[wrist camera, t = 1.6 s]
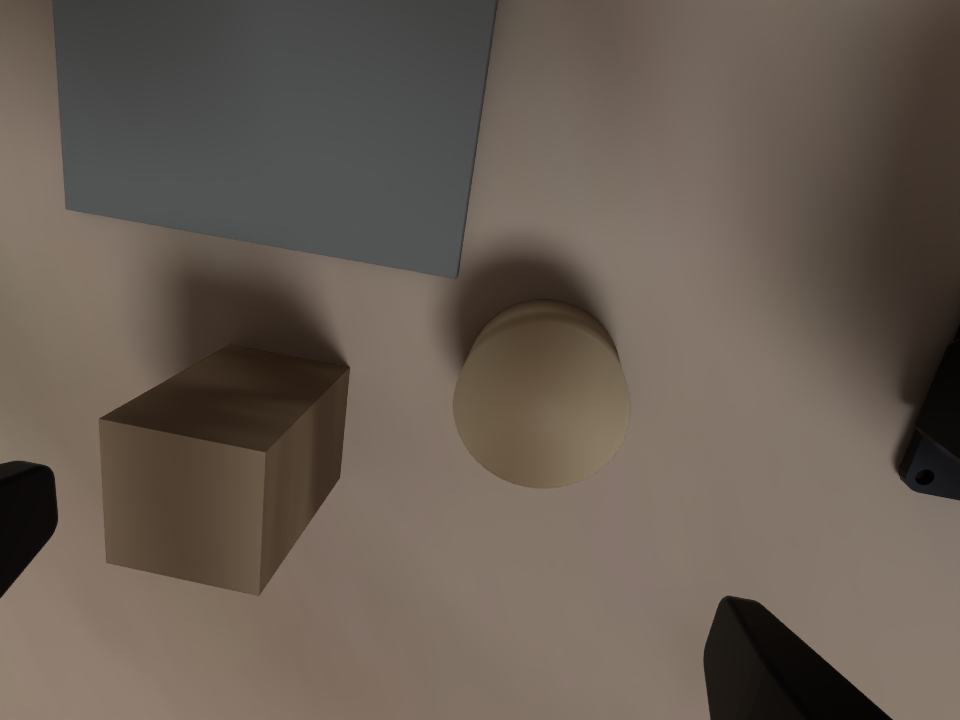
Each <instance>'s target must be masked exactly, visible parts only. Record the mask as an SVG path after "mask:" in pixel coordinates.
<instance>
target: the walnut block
mask: <svg viewBox="0 0 960 720" xmlns="http://www.w3.org/2000/svg"><path fill="white" fill-rule="evenodd" d="M349 373H350V368H349V367H344V366H339V365H334V364H328V363H323V362H318V361H313V360H307V359H302V358H297V357H292V356H286V355H281V354H276V353H271V352H265V351H260V350H255V349H250V348H244V347H239V346H234V345H228V346H226V347H224V348H223V349H221V350H219V351H217V352H216V353H214V354H212V355H210V356H209V357H207V358H205V359H203V360H201V361H200V362H198V363H196V364H194V365H193V366H191V367H189V368H187V369H186V370H184V371H182V372H180V373H179V374H177V375H175V376H173V377H172V378H170V379H168V380H166V381H165V382H163V383H161V384H159V385H158V386H156V387H154V388H152V389H150V390H149V391H147V392H145V393H143V394H142V395H140V396H138V397H136V398H135V399H133V400H131V401H129V402H128V403H126V404H124V405H122V406H121V407H119V408H117V409H115V410H114V411H112V412H110V413H108V414H107V415H105V416H103V417H101V418H99V431H100V450H101V470H102V489H103V509H104V528H105V547H106V563H109V564H114V565H119V566H123V567H128V568H132V569H137V570H142V571H146V572H151V573H155V574H160V575H165V576H169V577H174V578H178V579H183V580H188V581H192V582H197V583H201V584H206V585H211V586H215V587H220V588H224V589H229V590H234V591H238V592H243V593H247V594H252V595H257V596H259V595H260V594H261V592H262V591H263V589H264V588H265V587H266V585H267V584H268V582H269V581H270V579H271V578H272V576H273V575H274V573H275V572H276V570H277V569H278V568H279V566H280V565H281V563H282V562H283V560H284V559H285V557H286V556H287V554H288V553H289V551H290V550H291V549H292V547H293V546H294V544H295V543H296V541H297V540H298V538H299V537H300V535H301V534H302V532H303V531H304V530H305V528H306V527H307V525H308V524H309V522H310V521H311V519H312V518H313V516H314V515H315V514H316V512H317V511H318V509H319V508H320V506H321V505H322V503H323V502H324V500H325V499H326V497H327V496H328V495H329V493H330V492H331V490H332V489H333V487H334V486H335V484H336V483H337V481H338V480H339V478H340V472H341V461H342V450H343V439H344V428H345V417H346V406H347V395H348V384H349Z"/></svg>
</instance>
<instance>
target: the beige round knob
mask: <svg viewBox="0 0 960 720" xmlns="http://www.w3.org/2000/svg"><path fill="white" fill-rule="evenodd" d="M630 407H631V405H630V396H629V391H628V387H627V383H626V380H625V377H624V373H623V370H622V366H621V363H620V360H619V356H618V353H617V350H616V347H615V345H614V342H613V340H612V339H611V337H610V335H609V334H608V332H607V331H606V329H605V328H604V327H603V326H602V324H601V323H599V322H598V321H597V320H596V319H595V318H594V317H593V316H591V315H590V314H589V313H587V312H586V311H584V310H582V309H580V308H579V307H577V306H574V305H571V304H569V303H566V302H561V301H557V300H548V299H540V300H530V301H525V302H522V303H518V304H515V305H513V306H511V307H508V308H506V309H505V310H503V311H501V312H500V313H498V314H497V315H496V316H494V317H493V318H492V319H491V320H490V321H489V322H488V323H487V324H486V325H485V326H484V327H483V329H482V330H481V332H480V333H479V334H478V336H477V338H476V340H475V342H474V344H473V346H472V348H471V351H470V353H469V355H468V357H467V359H466V361H465V364H464V366H463V368H462V370H461V372H460V375H459V377H458V380H457V383H456V387H455V391H454V399H453V410H454V418H455V423H456V427H457V430H458V433H459V435H460V437H461V439H462V441H463V443H464V445H465V447H466V448H467V450H468V451H469V453H470V454H471V455H472V456H473V457H474V458H475V460H476V461H477V462H478V463H480V464H481V465H482V466H483V467H484V468H485V469H487V470H488V471H489V472H491V473H492V474H494V475H496V476H498V477H499V478H501V479H503V480H506V481H508V482H511V483H513V484H517V485H521V486H524V487H531V488H557V487H562V486H567V485H570V484H573V483H576V482H579V481H581V480H583V479H585V478H587V477H589V476H591V475H593V474H594V473H596V472H597V471H599V470H600V469H601V468H602V467H603V466H604V465H606V464H607V463H608V462H609V461H610V459H611V458H612V457H613V456H614V455H615V453H616V452H617V450H618V449H619V447H620V446H621V444H622V442H623V440H624V438H625V435H626V432H627V429H628V425H629V420H630Z"/></svg>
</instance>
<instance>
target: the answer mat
mask: <svg viewBox="0 0 960 720" xmlns="http://www.w3.org/2000/svg"><path fill="white" fill-rule="evenodd" d="M497 3H498V0H53V14H54V30H55V46H56V62H57V78H58V94H59V110H60V126H61V141H62V157H63V173H64V189H65V205H66V209H67V210H73V211H78V212H84V213H90V214H95V215H101V216H106V217H112V218H118V219H123V220H129V221H134V222H140V223H146V224H151V225H157V226H163V227H168V228H174V229H179V230H185V231H191V232H196V233H202V234H207V235H213V236H219V237H224V238H230V239H235V240H241V241H247V242H252V243H258V244H263V245H269V246H275V247H280V248H286V249H291V250H297V251H303V252H308V253H314V254H319V255H325V256H331V257H336V258H342V259H347V260H353V261H359V262H364V263H370V264H375V265H381V266H387V267H392V268H398V269H404V270H409V271H415V272H420V273H426V274H432V275H437V276H443V277H448V278H454V279H456V278H457V277H458V273H459V267H460V260H461V253H462V246H463V239H464V232H465V225H466V218H467V211H468V204H469V197H470V190H471V183H472V176H473V170H474V163H475V156H476V149H477V142H478V135H479V128H480V121H481V114H482V107H483V100H484V93H485V86H486V79H487V73H488V66H489V59H490V52H491V45H492V38H493V31H494V24H495V17H496V10H497Z"/></svg>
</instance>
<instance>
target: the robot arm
mask: <svg viewBox="0 0 960 720" xmlns="http://www.w3.org/2000/svg"><path fill="white" fill-rule="evenodd" d="M915 426H916V427H917V428H916V430H915V433H914V435H913V437H912V440H911V442H910V444H909V447H908V449H907V451H906V454H905V456H904V459H903V461H902V463H901V466H900V469H899V476H900V479H901V480H902V481H903V482H904V483H905V484H906V485H907V486H908V487H909V488H910V489H911V490H913V491H916V492H919V493H924V494H929V495H934V496H940V497H945V498H950V499H955V500H960V326H959V329H958V331H957V333H956V336H955V338H954V340H953V342H952V343H951V344H949V345H948V347H947V349H946V351H945V353H944V356H943V358H942V361H941V363H940V365H939V368H938V370H937V372H936V375H935V377H934V380H933V382H932V384H931V387H930V389H929V391H928V394H927V396H926V398H925V401H924V403H923V406H922V408H921V410H920V413H919V415H918V417H917V420H916V422H915ZM925 469H927V471H926V473H925V475H924V476H923V477H920V478H915V476H916V474H917V473H918V472H919V471H921V470H925ZM57 523H58V509H57V498H56V487H55V477H54V473H53V472H52V470H51V468H49V467H48V466H46V465H42V464H37V463H31V462H26V461H12V462H7V463H3V464H0V598H1V597H2V596H3V595H4V593H5V592H6V591H7V590H8V589H9V587H10V586H11V585H12V584H13V583H14V581H15V580H16V579H17V578H18V577H19V575H20V574H21V573H22V572H23V571H24V569H25V568H26V567H27V566H28V565H29V563H30V562H31V561H32V560H33V558H34V557H35V556H36V555H37V554H38V552H39V551H40V550H41V549H42V548H43V546H44V545H45V544H46V543H47V542H48V540H49V539H50V538H51V536H52V535H53V533H54V531H55V529H56V526H57ZM703 660H704V672H705V680H706V688H707V696H708V704H709V711H710V719H711V720H893V719H891V718H890V717H889V716H888V715H887V714H886V713H885V712H883V711H882V710H881V709H880V708H879V707H878V706H877V705H875V704H874V703H873V702H872V701H871V700H870V699H869V698H867V697H866V696H865V695H864V694H863V693H862V692H861V691H860V690H858V689H857V688H856V687H855V686H854V685H853V684H852V683H850V682H849V681H848V680H847V679H846V678H845V677H844V676H842V675H841V674H840V673H839V672H838V671H837V670H836V669H834V668H833V667H832V666H831V665H830V664H829V663H828V662H826V661H825V660H824V659H823V658H822V657H821V656H820V655H819V654H817V653H816V652H815V651H814V650H813V649H812V648H811V647H809V646H808V645H807V644H806V643H805V642H804V641H803V640H801V639H800V638H799V637H798V636H797V635H796V634H795V633H793V632H792V631H791V630H790V629H789V628H788V627H787V626H786V625H784V624H783V623H782V622H781V621H780V620H779V619H778V618H776V617H775V616H774V615H773V614H772V613H771V612H770V611H768V610H767V609H766V608H765V607H764V606H763V605H762V604H760V603H759V602H757V601H755V600H750V599H744V598H739V597H734V596H726V597H724V598H722V600H721V601H720V603H719V605H718V608H717V611H716V614H715V617H714V620H713V623H712V626H711V629H710V632H709V635H708V638H707V641H706V644H705V649H704V658H703Z"/></svg>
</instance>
